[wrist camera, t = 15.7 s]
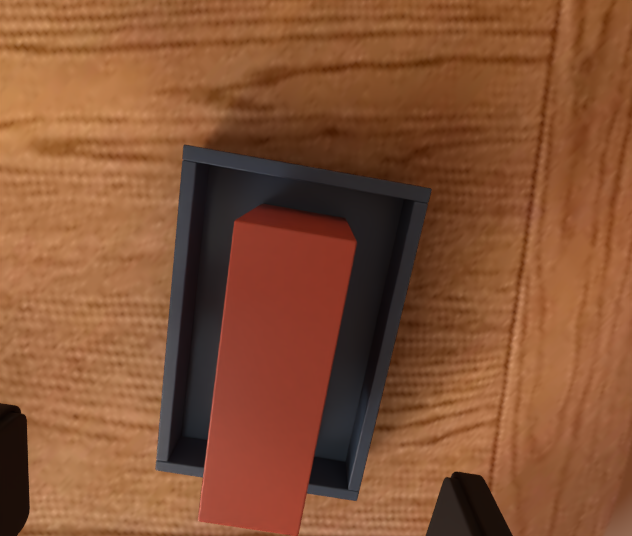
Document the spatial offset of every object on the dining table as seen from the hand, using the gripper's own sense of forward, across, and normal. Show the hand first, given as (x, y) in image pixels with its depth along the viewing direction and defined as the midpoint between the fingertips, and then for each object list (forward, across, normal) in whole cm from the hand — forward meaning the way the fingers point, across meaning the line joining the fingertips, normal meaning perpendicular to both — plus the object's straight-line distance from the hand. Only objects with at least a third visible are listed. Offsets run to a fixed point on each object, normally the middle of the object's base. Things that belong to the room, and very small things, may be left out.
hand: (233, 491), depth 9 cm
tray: (+12, 0, +1) cm, 12 cm away
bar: (+11, 0, +1) cm, 11 cm away
